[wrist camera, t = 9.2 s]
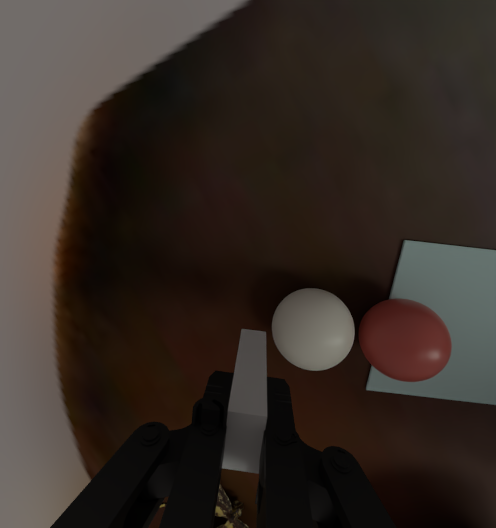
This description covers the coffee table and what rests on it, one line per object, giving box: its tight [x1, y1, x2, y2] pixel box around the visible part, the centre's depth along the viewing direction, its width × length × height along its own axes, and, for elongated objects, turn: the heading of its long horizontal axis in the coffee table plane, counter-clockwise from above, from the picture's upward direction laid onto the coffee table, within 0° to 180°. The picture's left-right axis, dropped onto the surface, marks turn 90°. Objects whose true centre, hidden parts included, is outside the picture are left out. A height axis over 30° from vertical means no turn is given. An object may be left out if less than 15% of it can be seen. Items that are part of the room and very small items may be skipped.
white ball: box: [272, 288, 355, 371], centre depth 20 cm, size 6×6×6 cm
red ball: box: [358, 298, 452, 382], centre depth 20 cm, size 6×6×6 cm
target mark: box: [366, 240, 496, 405], centre depth 23 cm, size 14×14×1 cm
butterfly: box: [159, 485, 249, 528], centre depth 28 cm, size 18×4×10 cm
